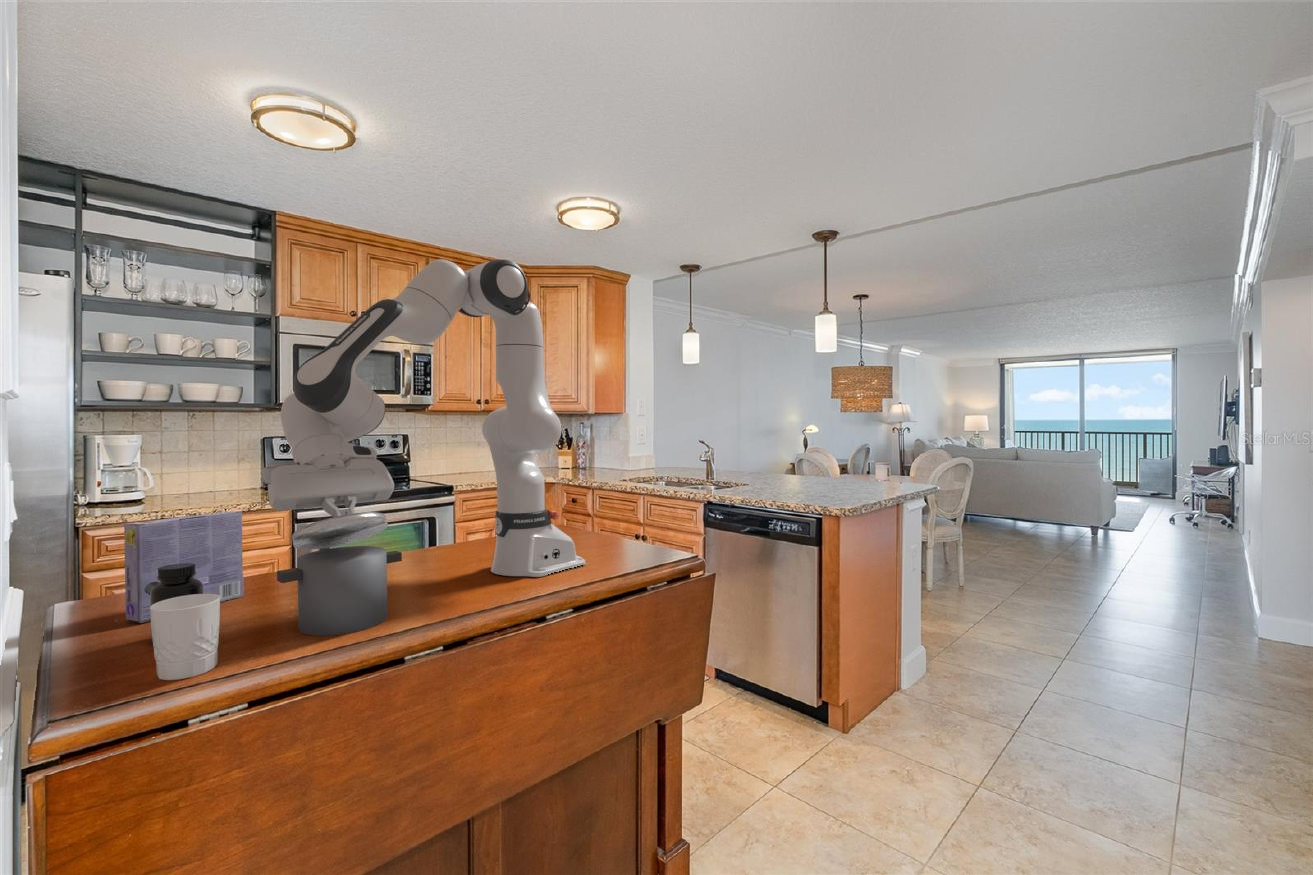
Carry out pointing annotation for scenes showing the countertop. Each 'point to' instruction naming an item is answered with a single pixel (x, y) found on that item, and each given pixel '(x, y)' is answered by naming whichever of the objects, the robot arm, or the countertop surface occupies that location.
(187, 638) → the white cup
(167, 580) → the supplement bottle
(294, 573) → the gray cooking pot
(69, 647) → the countertop surface
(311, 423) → the robot arm
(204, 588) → the cake pan box
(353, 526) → the lid
